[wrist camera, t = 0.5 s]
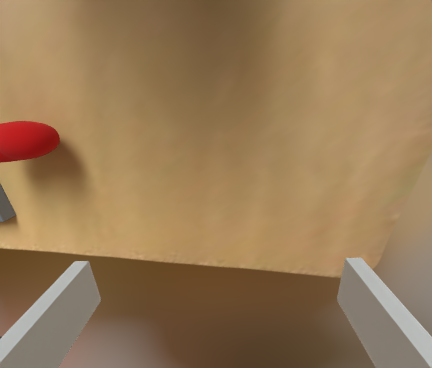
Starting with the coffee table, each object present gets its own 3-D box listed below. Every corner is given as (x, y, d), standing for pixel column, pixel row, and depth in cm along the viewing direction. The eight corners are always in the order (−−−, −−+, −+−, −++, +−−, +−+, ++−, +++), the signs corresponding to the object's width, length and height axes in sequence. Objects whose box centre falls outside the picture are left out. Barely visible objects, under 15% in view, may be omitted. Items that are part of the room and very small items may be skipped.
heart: (24, 155, 38) (-42, 172, 28) (10, 124, 36) (-66, 131, 27) (85, 147, 37) (38, 161, 27) (74, 115, 35) (19, 118, 26)
